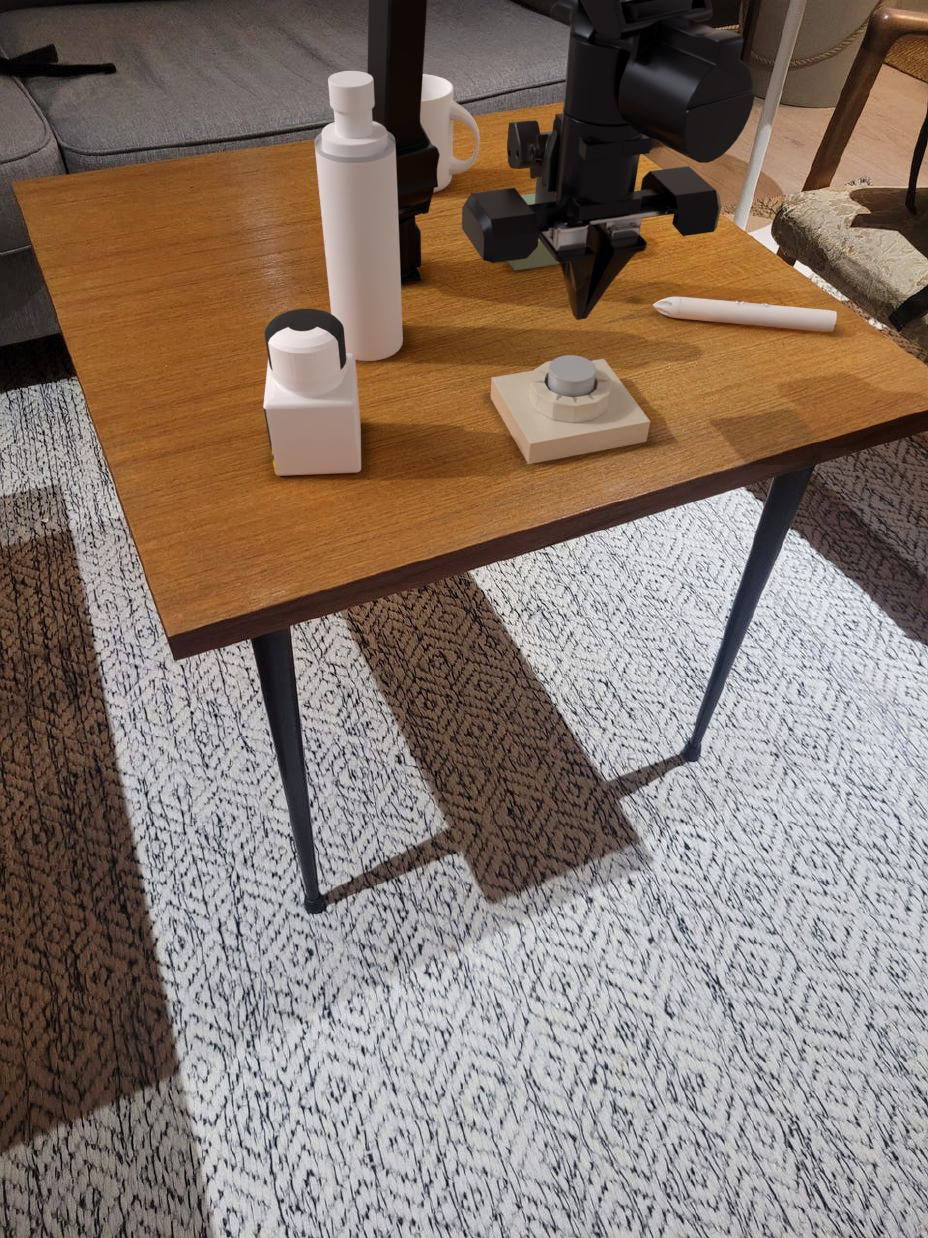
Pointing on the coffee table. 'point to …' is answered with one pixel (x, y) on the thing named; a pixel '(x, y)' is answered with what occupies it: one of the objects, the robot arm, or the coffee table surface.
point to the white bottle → (360, 219)
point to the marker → (748, 313)
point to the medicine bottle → (311, 395)
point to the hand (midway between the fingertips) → (579, 316)
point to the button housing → (567, 414)
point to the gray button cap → (571, 376)
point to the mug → (444, 126)
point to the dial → (542, 193)
